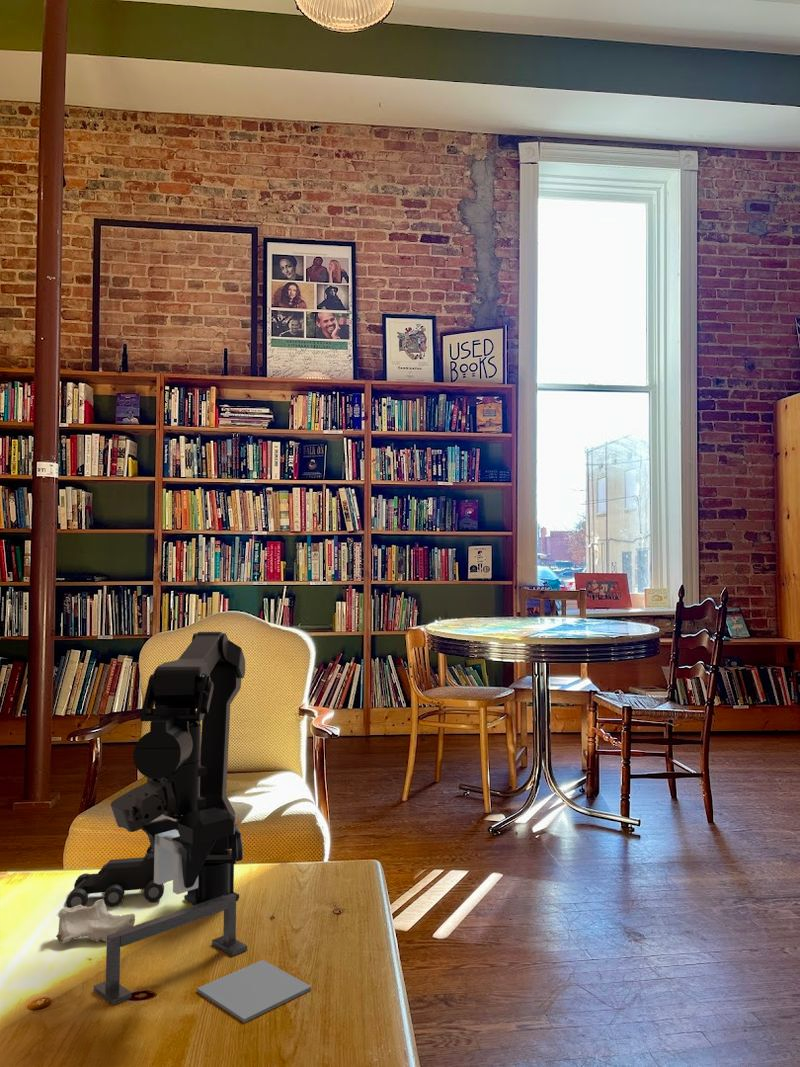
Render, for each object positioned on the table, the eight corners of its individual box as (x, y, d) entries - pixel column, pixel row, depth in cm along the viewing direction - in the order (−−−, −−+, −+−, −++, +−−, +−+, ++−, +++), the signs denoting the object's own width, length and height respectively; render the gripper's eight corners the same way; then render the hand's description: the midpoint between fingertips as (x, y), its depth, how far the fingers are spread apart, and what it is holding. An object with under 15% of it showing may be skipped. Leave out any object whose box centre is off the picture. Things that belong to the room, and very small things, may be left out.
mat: (262, 962, 102) (262, 959, 102) (311, 989, 95) (311, 986, 95) (196, 991, 95) (196, 988, 95) (244, 1022, 88) (244, 1019, 88)
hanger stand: (226, 938, 109) (227, 888, 110) (247, 950, 106) (247, 897, 106) (93, 990, 95) (95, 932, 96) (112, 1005, 92) (114, 945, 92)
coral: (134, 941, 109) (135, 909, 109) (54, 952, 105) (55, 919, 106) (134, 925, 114) (135, 894, 115) (57, 935, 111) (58, 903, 111)
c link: (174, 876, 104) (175, 829, 105) (198, 887, 100) (199, 839, 101) (153, 882, 102) (154, 834, 103) (177, 894, 98) (178, 844, 98)
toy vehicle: (165, 904, 122) (166, 847, 123) (63, 913, 119) (65, 854, 119) (168, 884, 130) (170, 831, 131) (73, 892, 127) (75, 837, 127)
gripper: (87, 759, 103) (84, 879, 102) (158, 783, 90) (156, 921, 89) (163, 747, 111) (160, 858, 110) (238, 767, 98) (236, 893, 97)
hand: (176, 880), depth 101 cm, fingers closed on c link, 6 cm apart
